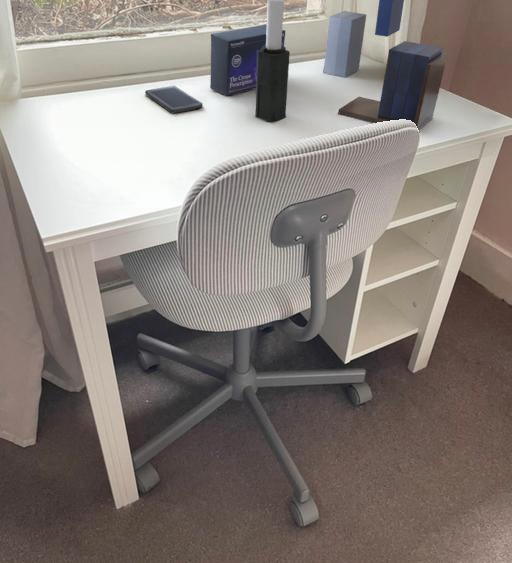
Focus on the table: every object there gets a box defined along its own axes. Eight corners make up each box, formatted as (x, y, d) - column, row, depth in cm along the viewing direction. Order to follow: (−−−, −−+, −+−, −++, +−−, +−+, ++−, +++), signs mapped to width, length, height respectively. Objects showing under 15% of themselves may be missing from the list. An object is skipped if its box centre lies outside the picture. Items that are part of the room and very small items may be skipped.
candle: (252, 116, 110) (256, -23, 94) (269, 110, 113) (275, -26, 97) (271, 123, 107) (277, -19, 92) (287, 116, 110) (297, -22, 94)
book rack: (432, 118, 112) (449, 47, 103) (415, 133, 105) (432, 58, 96) (358, 100, 119) (368, 33, 110) (337, 113, 112) (346, 42, 103)
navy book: (399, 30, 121) (408, -31, 113) (387, 36, 116) (396, -27, 109) (387, 28, 122) (395, -32, 115) (374, 34, 117) (382, -28, 110)
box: (228, 97, 118) (228, 39, 111) (209, 89, 122) (208, 33, 114) (283, 82, 127) (286, 28, 120) (263, 75, 131) (265, 22, 124)
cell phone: (174, 88, 121) (173, 85, 121) (204, 107, 112) (204, 104, 112) (144, 93, 118) (143, 90, 117) (172, 113, 109) (172, 110, 108)
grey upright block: (358, 69, 137) (366, 14, 129) (344, 77, 132) (352, 20, 124) (337, 65, 140) (344, 10, 132) (323, 72, 134) (329, 16, 126)
